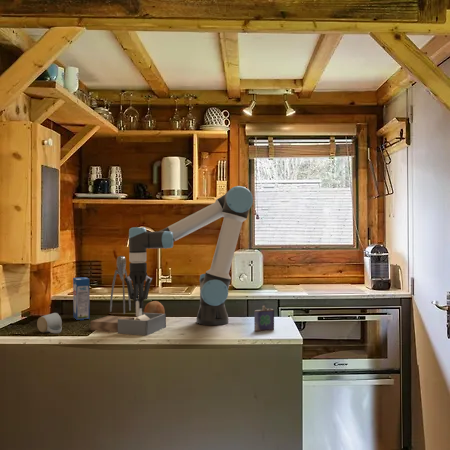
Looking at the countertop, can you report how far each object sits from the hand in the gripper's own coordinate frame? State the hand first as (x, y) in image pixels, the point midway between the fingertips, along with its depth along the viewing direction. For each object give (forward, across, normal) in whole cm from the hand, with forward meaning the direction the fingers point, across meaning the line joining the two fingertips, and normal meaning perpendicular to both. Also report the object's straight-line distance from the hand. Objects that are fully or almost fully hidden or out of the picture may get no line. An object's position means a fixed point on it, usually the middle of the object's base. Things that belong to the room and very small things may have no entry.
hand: (138, 315), depth 226 cm
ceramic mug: (+6, +35, +15) cm, 39 cm away
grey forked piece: (+6, +33, -38) cm, 51 cm away
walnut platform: (+6, +13, 0) cm, 15 cm away
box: (+6, -2, 0) cm, 7 cm away
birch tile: (+4, -2, 0) cm, 5 cm away
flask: (+7, -53, -16) cm, 56 cm away
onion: (+7, +2, -19) cm, 20 cm away
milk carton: (+6, +41, -16) cm, 45 cm away
